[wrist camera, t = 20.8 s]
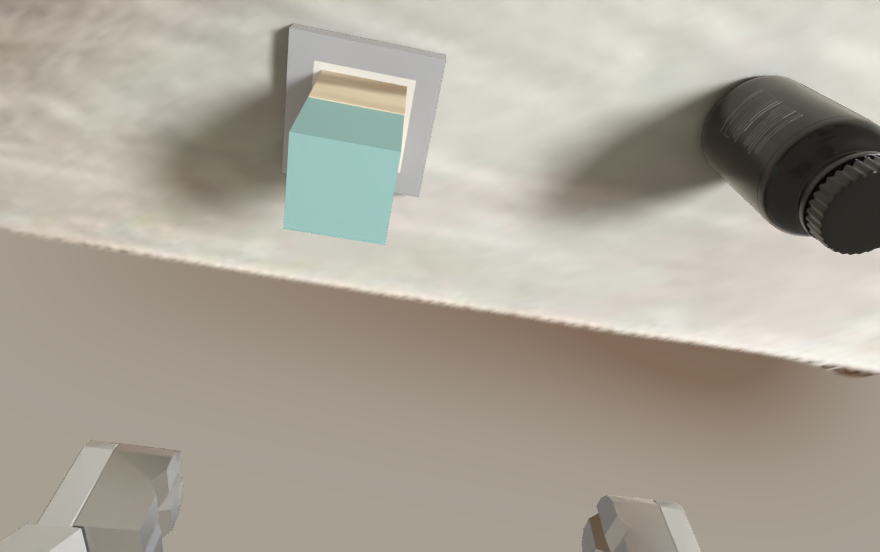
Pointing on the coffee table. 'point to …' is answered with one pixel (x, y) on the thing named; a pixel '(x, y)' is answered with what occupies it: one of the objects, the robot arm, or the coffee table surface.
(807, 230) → the supplement bottle
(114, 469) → the robot arm
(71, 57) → the coffee table surface
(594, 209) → the coffee table surface
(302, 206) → the teal cube
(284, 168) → the plate
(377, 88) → the maple cube
